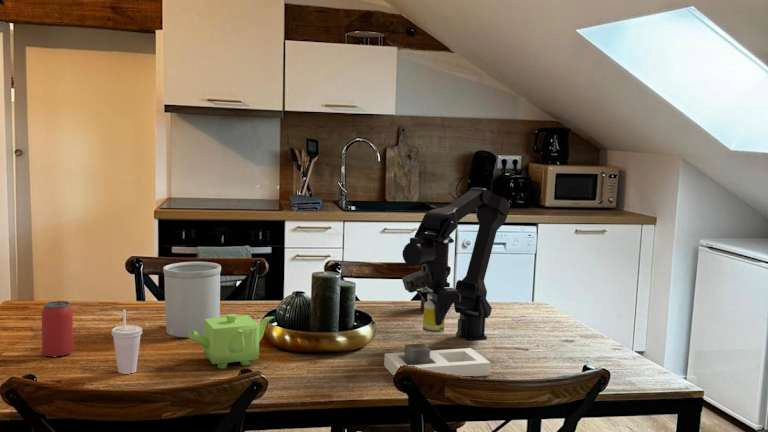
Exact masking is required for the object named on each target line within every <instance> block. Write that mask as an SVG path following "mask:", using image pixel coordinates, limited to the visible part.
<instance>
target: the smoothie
mask: <svg viewBox="0 0 768 432" xmlns="http://www.w3.org/2000/svg"><path fill="white" fill-rule="evenodd" d="M126 313H127V311H126V308H125V309H122V325H119V326H116V327H114V328H112V329H111V336H112V338H113V343H114V344H113V345H114V352H115V357H116V358H115V359H116V365H117V366H116V367H117V372H119V373H123V374H129V375H131V374H130V373H133V374H135V373H136V372H137V369H138V368H137V366H138V360H139V359H138V357H139V352H140V343H141V342H140V341H141V337H142V336H141V335H142V334H143V327H141V326H140V325H133V324H129V325H127V322H126V321H127V320H126V319H127V318H126V317H127V316H126ZM134 372H135V373H134ZM119 373H118V374H119Z"/></svg>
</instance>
